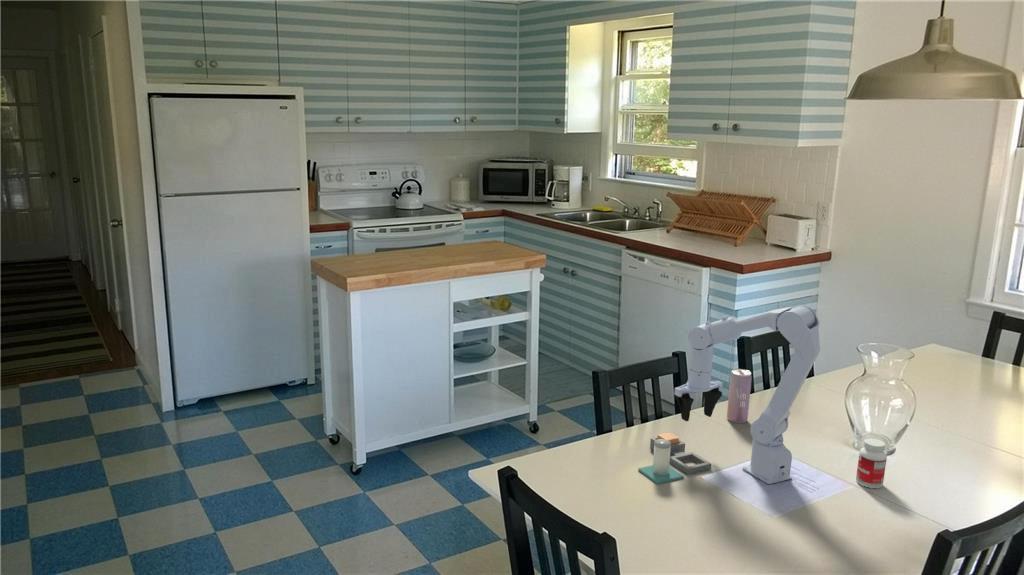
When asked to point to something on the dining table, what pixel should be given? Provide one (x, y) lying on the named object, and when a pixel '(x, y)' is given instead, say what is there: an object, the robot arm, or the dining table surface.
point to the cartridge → (661, 457)
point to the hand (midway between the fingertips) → (696, 417)
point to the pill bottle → (871, 464)
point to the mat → (658, 478)
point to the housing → (684, 458)
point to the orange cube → (669, 437)
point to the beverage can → (739, 396)
